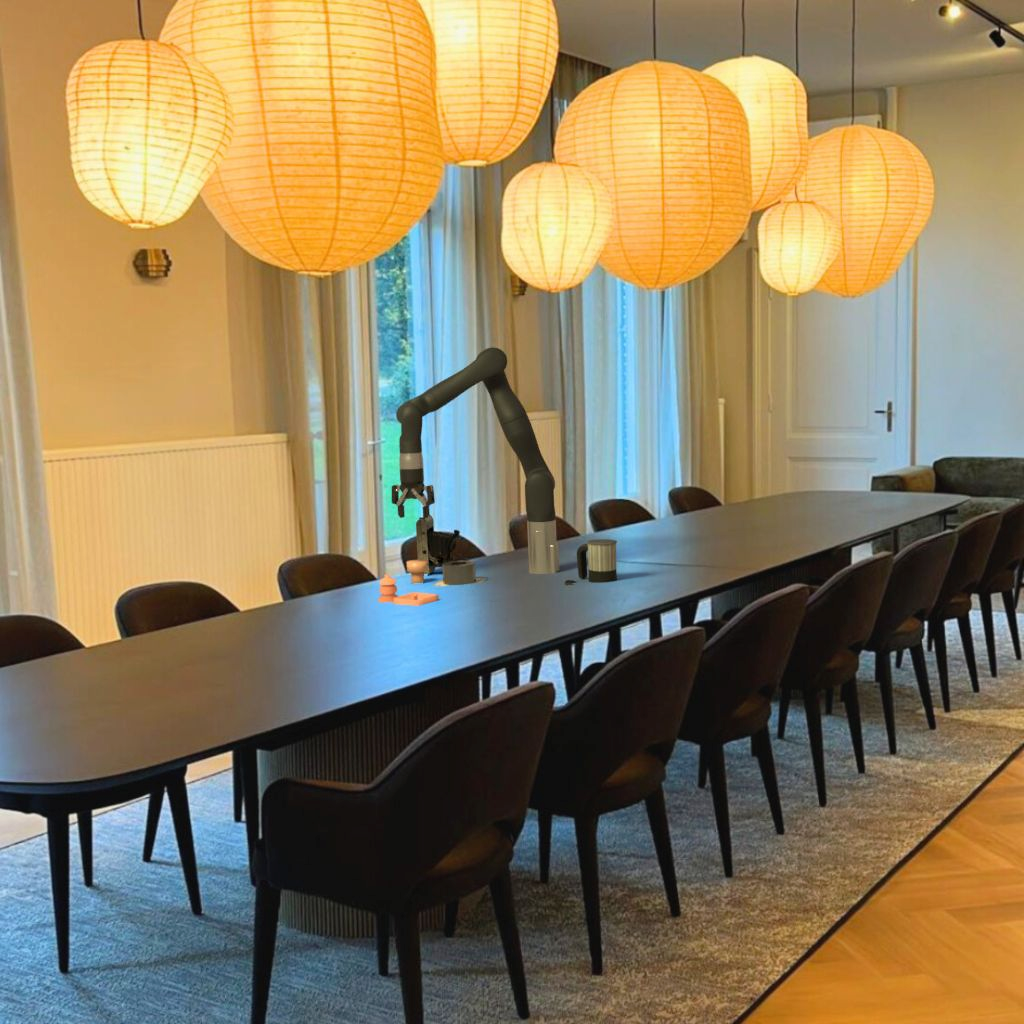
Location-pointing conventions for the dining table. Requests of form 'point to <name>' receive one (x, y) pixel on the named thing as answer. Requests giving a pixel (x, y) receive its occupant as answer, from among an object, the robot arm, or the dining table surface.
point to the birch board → (449, 585)
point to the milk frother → (597, 561)
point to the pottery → (389, 595)
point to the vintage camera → (434, 544)
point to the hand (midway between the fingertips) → (413, 517)
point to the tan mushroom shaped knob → (417, 570)
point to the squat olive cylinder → (459, 572)
